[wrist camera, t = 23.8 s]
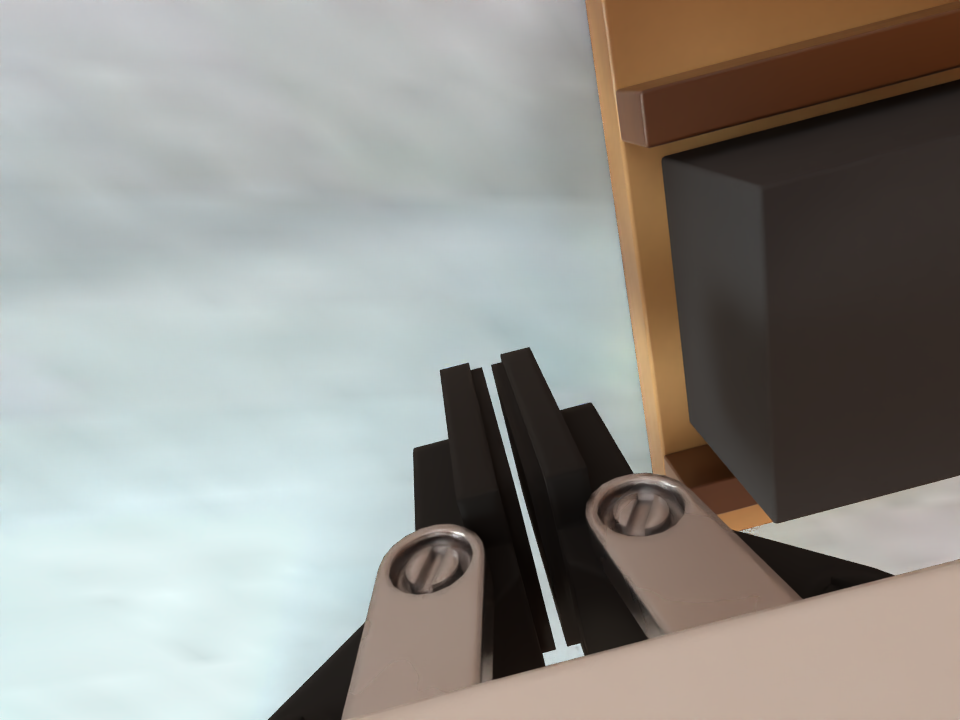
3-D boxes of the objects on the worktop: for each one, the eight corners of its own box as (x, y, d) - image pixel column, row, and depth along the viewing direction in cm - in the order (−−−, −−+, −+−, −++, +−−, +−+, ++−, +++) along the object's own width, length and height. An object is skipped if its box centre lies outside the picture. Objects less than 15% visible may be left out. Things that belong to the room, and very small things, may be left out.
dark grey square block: (659, 156, 13) (758, 186, 9) (964, 76, 13) (1182, 76, 9) (688, 423, 16) (774, 526, 12) (941, 356, 16) (1103, 439, 12)
